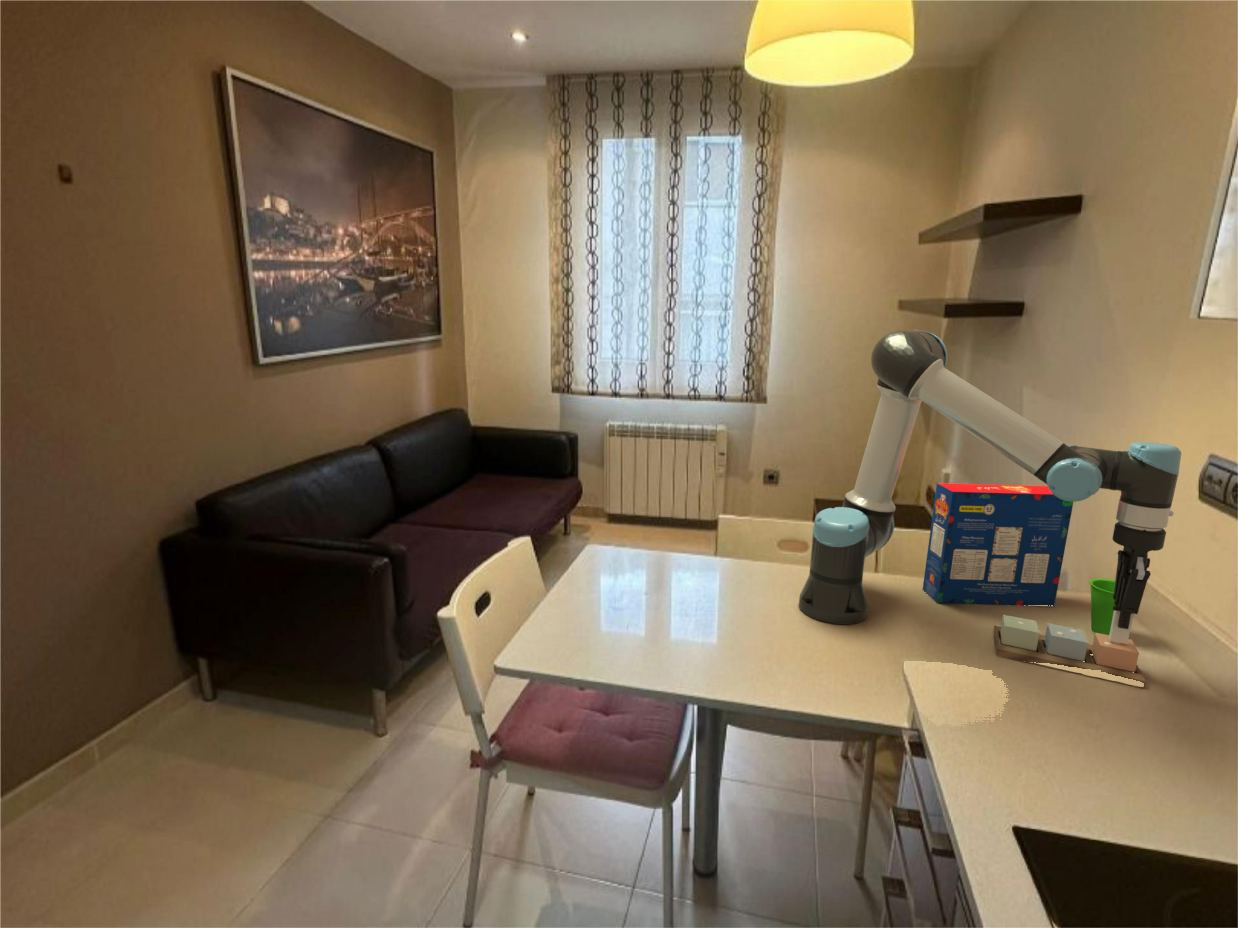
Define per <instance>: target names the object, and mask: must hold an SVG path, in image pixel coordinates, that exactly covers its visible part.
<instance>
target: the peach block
mask: <svg viewBox="0 0 1238 928" xmlns="http://www.w3.org/2000/svg"><path fill="white" fill-rule="evenodd" d="M1091 645H1092V649H1091V652H1092V654H1093V656H1094V657H1093V658H1094V661H1095V663H1096V664H1095V665H1100V666H1104V667H1109V668H1114V669H1118V670H1123V671H1128V672H1135V670H1136V665H1137V666H1138V659H1139V655H1140V653H1139V650H1138V648H1137V647H1136V645H1135V642H1134V641H1133V640H1132V639H1128V644H1124V643H1119V642H1113V641H1110V639H1109V635H1105V634H1100V633H1093V640H1092V644H1091Z"/></svg>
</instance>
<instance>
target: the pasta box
mask: <svg viewBox="0 0 1238 928" xmlns="http://www.w3.org/2000/svg"><path fill="white" fill-rule="evenodd" d="M933 501H934V502H933V510H932V515H931V517H932V518H931V524H930V529H929V530H930V531H929V538H928V548H927V553H926V560H925V570H924V574H923V575H924V577H923V583H922V591H923V590H924V591H923V592H924V593H925V592H926V593H925V594H926V595H927V594H928V595H927V596H929V597H930V598H931V599H932V600H933V601H934V602H935V603H936V604H941V605H942V604H943V605H944V604H947V605H949V604H950V605H979V606H983V605H984V606H1008V605H1010V606H1011V607H1012V606H1013V607H1029V606H1028V605H1048V606H1049V605H1050V606H1051V605H1053V606H1054V607H1055V606H1056V599H1057V594H1058V588H1059V583H1060V578H1061V571H1062V566H1063V561H1064V554H1065V551H1066V544H1067V539H1068V534H1069V528H1070V522H1071V517H1072V512H1073V507H1074V502H1070V501H1065V500H1062V499H1060V498H1058V497H1056V496H1055V495H1054V494H1053V493H1052V492H1051V491H1050V489H1049V487H1048V485H1020V484H1019V485H1015V484H981V483H979V484H978V483H939V482H938V483H937V482H936V486H935V495H934V500H933ZM1018 605H1019V606H1018ZM1024 605H1026V606H1024ZM1008 607H1009V606H1008Z"/></svg>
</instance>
